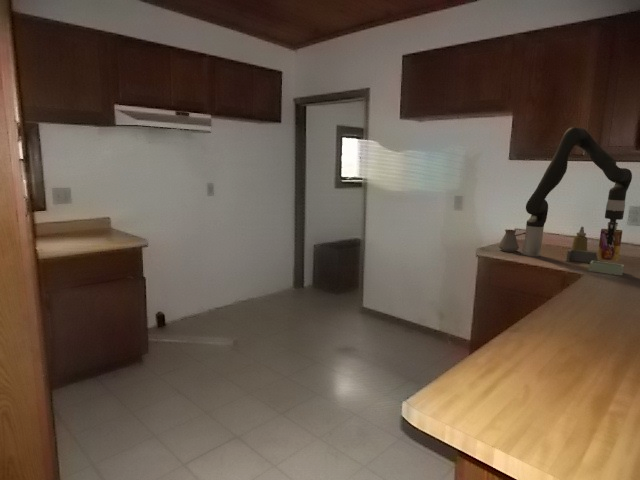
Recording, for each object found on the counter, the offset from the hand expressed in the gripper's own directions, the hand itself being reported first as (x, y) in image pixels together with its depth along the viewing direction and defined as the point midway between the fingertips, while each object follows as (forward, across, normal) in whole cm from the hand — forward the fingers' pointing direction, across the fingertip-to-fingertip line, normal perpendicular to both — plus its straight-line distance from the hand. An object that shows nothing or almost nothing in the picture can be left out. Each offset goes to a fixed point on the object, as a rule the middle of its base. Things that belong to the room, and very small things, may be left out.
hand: (609, 243), depth 212 cm
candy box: (+8, 0, 0) cm, 8 cm away
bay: (+14, -15, -12) cm, 24 cm away
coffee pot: (+15, -21, -47) cm, 53 cm away
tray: (+14, 0, 0) cm, 14 cm away
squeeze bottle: (+15, -32, -16) cm, 39 cm away
